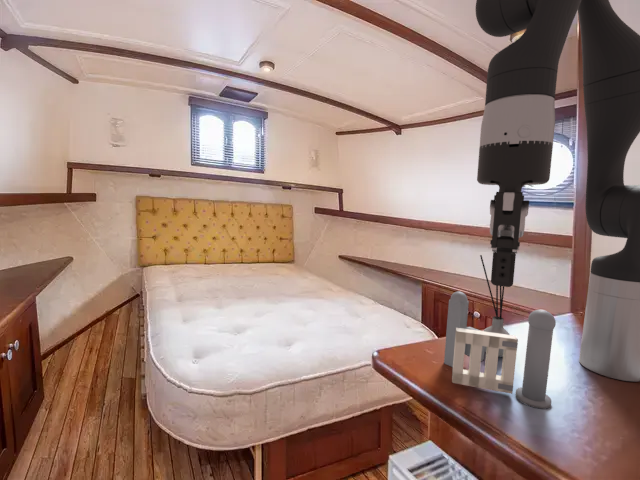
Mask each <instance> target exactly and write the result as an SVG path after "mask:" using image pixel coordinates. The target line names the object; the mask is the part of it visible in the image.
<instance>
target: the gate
mask: <svg viewBox="0 0 640 480" xmlns="http://www.w3.org/2000/svg"><path fill="white" fill-rule="evenodd" d="M478 330H479V329H478ZM478 330H470V329H463V328H456V334H455V346H454V358H453V367H452V370H451V371H452V374H451V382H452V383H453V384H457V385H461V386H462V385H463V386H467V387H468V386H469V387H474V388H477V389H478V388H479V389H483V390H489V391H495V392H500V393H506V394H512V395H513V390H514V381H515V380H514V379H515V370H516V361H517V351H518V344H519V343H518V342H519V340H518V337H517V336H516V335H514V334H513V335H512V334H510V335H507V334H500V333H492V332H485V331H484V330H481V331H478ZM465 344H471V349H470V356H469V363H468V369H465V368H464V365H465V364H464V363H465ZM482 346H485V347H487V350H486V352H485V359H484V360H485V362H484V370H483V371H484V372H481V365H482V361H481V354H482ZM499 349H504V352H503V356H502V364H501V373H500V375H498V374H497V370H498V361H499V356H498V352H499Z"/></svg>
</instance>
